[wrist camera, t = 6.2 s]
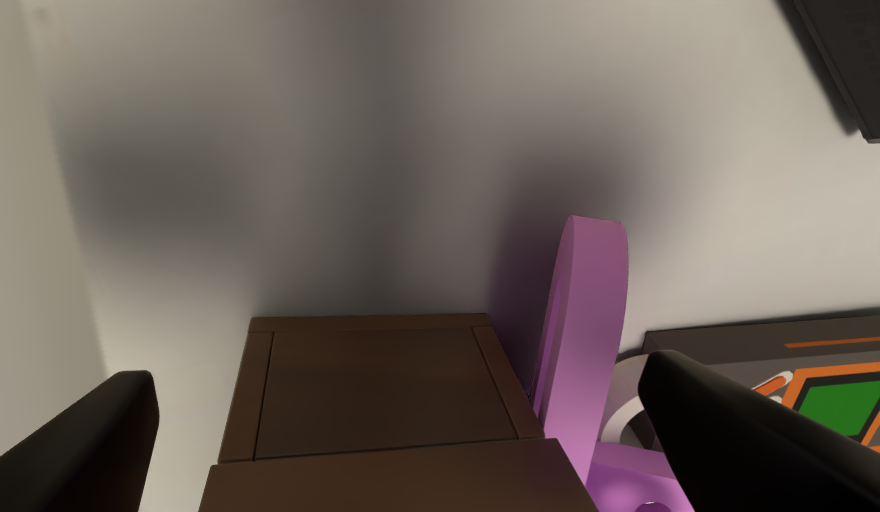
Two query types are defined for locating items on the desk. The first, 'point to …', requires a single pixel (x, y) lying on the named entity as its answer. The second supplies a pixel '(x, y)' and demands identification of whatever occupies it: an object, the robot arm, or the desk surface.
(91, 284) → the desk surface
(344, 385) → the chest
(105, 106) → the desk surface
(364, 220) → the desk surface
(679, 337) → the electronic device
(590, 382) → the bracket
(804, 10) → the hard drive
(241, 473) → the lid
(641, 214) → the desk surface
